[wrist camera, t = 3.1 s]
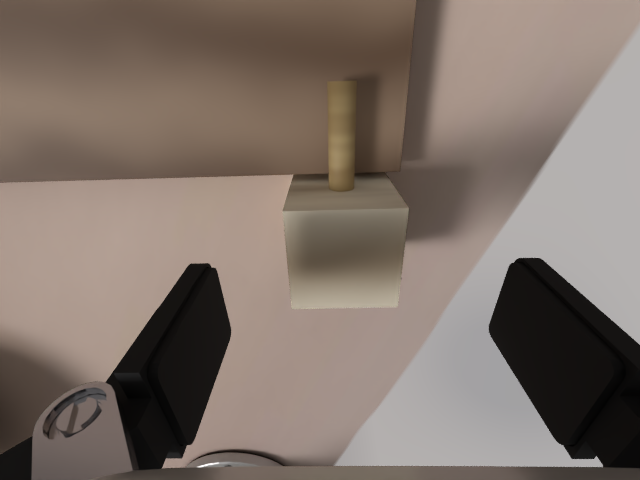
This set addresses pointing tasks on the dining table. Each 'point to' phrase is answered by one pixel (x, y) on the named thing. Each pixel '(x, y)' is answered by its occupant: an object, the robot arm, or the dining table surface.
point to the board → (196, 86)
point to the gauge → (344, 224)
